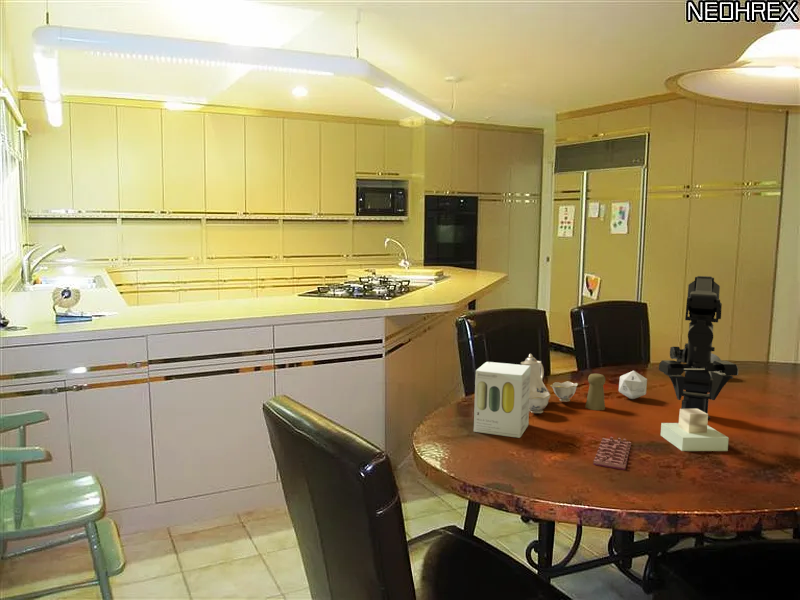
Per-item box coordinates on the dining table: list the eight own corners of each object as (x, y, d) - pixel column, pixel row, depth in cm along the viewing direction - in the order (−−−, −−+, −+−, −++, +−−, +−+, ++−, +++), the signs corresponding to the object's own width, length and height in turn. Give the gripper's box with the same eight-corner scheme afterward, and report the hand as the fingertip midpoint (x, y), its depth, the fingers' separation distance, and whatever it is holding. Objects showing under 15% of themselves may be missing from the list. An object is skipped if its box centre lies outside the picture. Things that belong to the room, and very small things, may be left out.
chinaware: (546, 422, 183) (548, 366, 181) (495, 411, 193) (497, 358, 191) (582, 402, 205) (584, 352, 203) (535, 393, 215) (537, 345, 213)
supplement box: (472, 432, 173) (474, 370, 171) (484, 418, 185) (485, 360, 183) (520, 438, 168) (522, 374, 166) (529, 424, 180) (531, 365, 178)
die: (617, 401, 206) (619, 372, 205) (619, 395, 214) (620, 366, 213) (645, 404, 203) (647, 374, 202) (645, 398, 211) (647, 369, 210)
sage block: (703, 437, 173) (704, 423, 172) (727, 452, 161) (728, 437, 160) (660, 437, 172) (661, 423, 172) (681, 452, 160) (682, 437, 160)
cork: (606, 411, 194) (608, 376, 193) (586, 410, 195) (587, 375, 194) (604, 406, 200) (605, 372, 199) (584, 404, 201) (586, 371, 200)
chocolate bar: (630, 446, 165) (631, 438, 165) (625, 471, 148) (625, 463, 148) (602, 441, 168) (602, 434, 168) (593, 465, 151) (593, 457, 150)
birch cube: (696, 426, 169) (697, 408, 169) (706, 432, 164) (708, 414, 164) (678, 426, 169) (679, 408, 168) (688, 432, 164) (690, 414, 163)
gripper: (718, 336, 172) (713, 392, 174) (651, 336, 171) (647, 391, 173) (741, 344, 161) (737, 403, 163) (670, 343, 160) (666, 402, 162)
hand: (695, 399), depth 165 cm, fingers open, 9 cm apart
